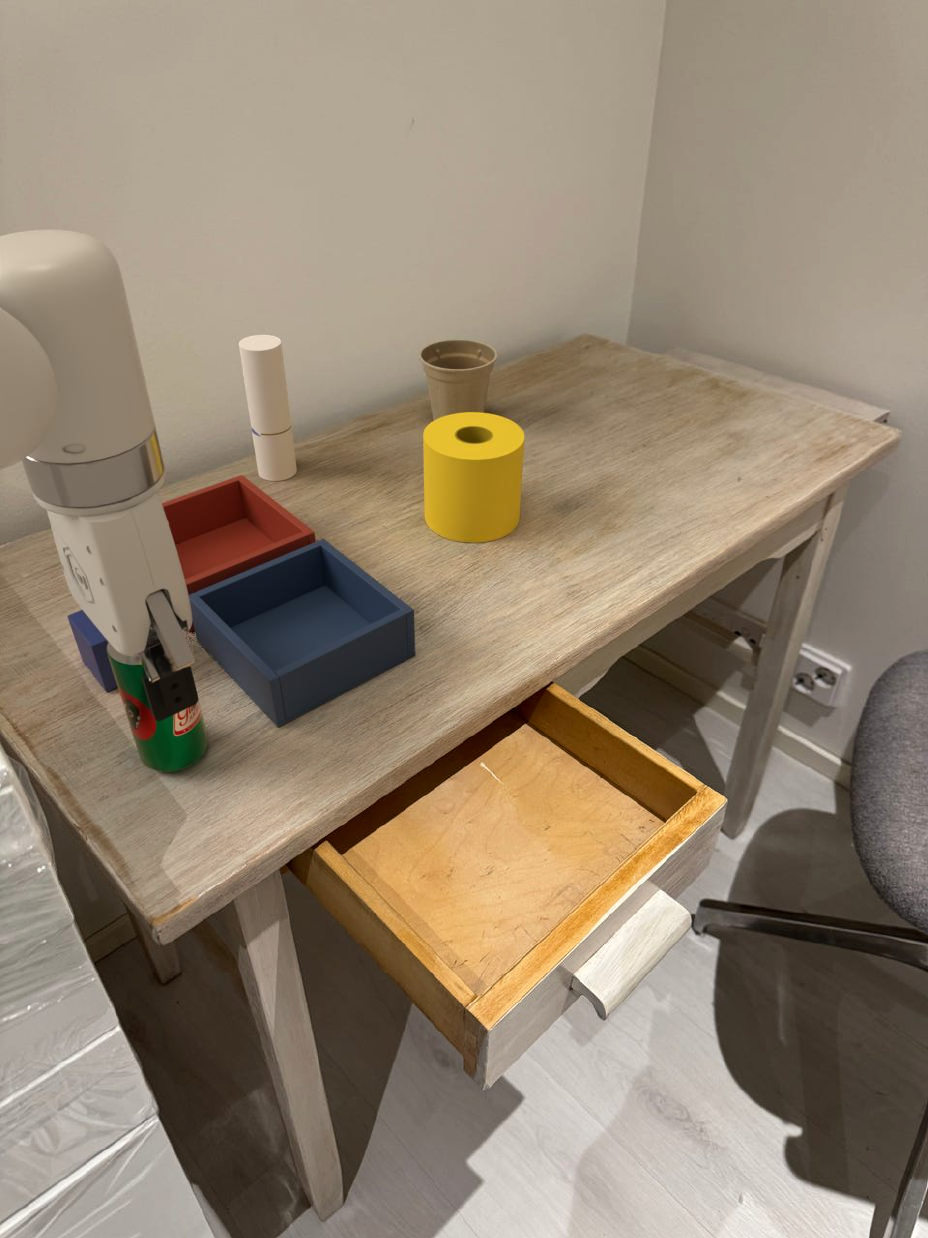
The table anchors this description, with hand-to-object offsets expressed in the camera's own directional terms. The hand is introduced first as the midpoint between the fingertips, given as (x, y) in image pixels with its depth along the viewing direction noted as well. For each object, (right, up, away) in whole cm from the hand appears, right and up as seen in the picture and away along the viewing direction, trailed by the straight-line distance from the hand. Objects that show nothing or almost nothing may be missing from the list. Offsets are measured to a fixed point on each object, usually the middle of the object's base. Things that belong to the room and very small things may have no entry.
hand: (157, 686), depth 63 cm
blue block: (-7, +1, +12) cm, 14 cm away
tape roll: (+23, +16, +31) cm, 41 cm away
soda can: (0, -5, +4) cm, 7 cm away
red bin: (-2, +10, +23) cm, 25 cm away
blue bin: (+8, +2, +14) cm, 16 cm away
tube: (+1, +21, +37) cm, 43 cm away
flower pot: (+21, +29, +48) cm, 60 cm away
